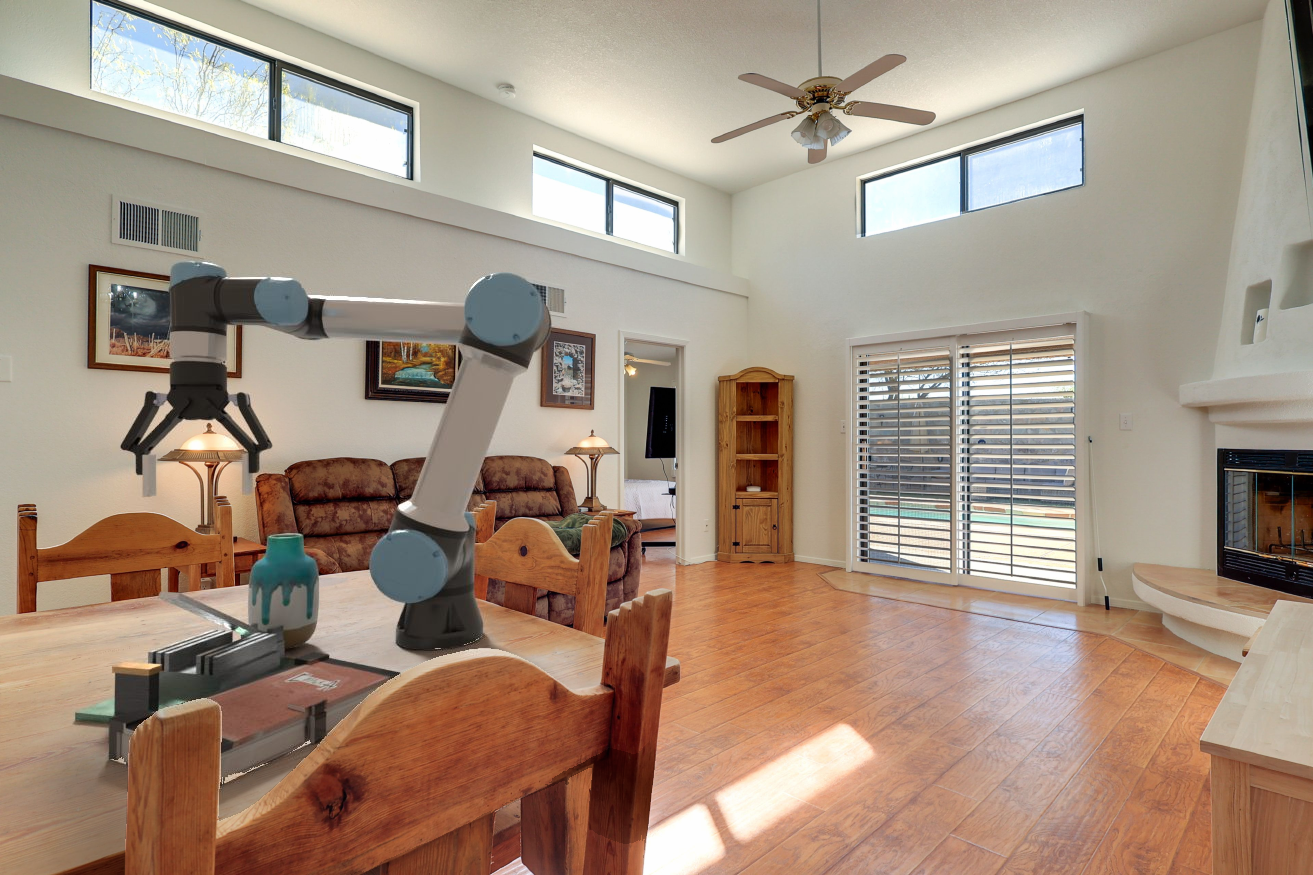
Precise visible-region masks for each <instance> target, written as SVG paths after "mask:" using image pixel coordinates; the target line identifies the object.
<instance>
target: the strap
mask: <svg viewBox="0 0 1313 875" xmlns="http://www.w3.org/2000/svg"><path fill="white" fill-rule="evenodd" d="M157 599H160V600H163V601H164V602H168V603H169V604H171V605H174V606H175V607H178V608H179V609H183V610H185V611H188V612H189V613H192V614H194V615H197V616H199V617H202V618H203V619H206V620H208V621H209V622H212V623H214V624H217V625H219V626H221V627H224V628H226V629H228V630H229V631H233V632H235V633H237V634H240V635H241V634H242V635H244V636H246V637H247V636H250V635H253V634H255V633H262V634H264V633H265V632H263V631H261V630H259V629H257V628H255V627H252V626H250V625H248V624H249V623H247V622H244V621H241V620H239V619H237V618H235V617H233V616H231V615H229V614H226V613H224V612H222V611H220V610H218V609H216V608H214V607H211V606H209V605H208V604H205V603H202V602H201V601H198V600H196V599H194V598H191V597H190V596H187V595H186V594H183V593H181V592H173V591H172V592H170V591H159V594H158V596H157Z"/></svg>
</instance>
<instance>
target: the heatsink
mask: <svg viewBox="0 0 1313 875" xmlns="http://www.w3.org/2000/svg"><path fill="white" fill-rule="evenodd" d="M247 624H248V625H250V626H252V627H255V628H257V629H258V623H251V624H249V623H247ZM283 626H284V625H276V626H274V627H271V628H268V629H267V633H264V634H262V633H255V634H253V635H250V636H247V637H246V636H244V635H242V634H240V639H237V640H234V631H233V630H226V629H215V628H214V629H211V630H208V631H206V632H201V633H200V634H196V635H194V636H190V637H187V638H185V639H182V640H179V641H176V642H173V643H170V644H167V645H165V646H162V647H158V648H155V649H152V650H150V651H147V659H148V660H147V663H146V662H145V663H144V662H137V661H136V662H135V661H123V662H120V663H118V664H115V665H113V666H112V667H111V670H112V671H111V673H112V674H114V696H113V697H112V698H108V699H106V700H103V701H101V702H99V703H96V704H94V705H90V706H88V707H86V708H84V709H80V710H78V711H75V712H74V721H79V722H88V723H96V724H97V723H99V724H104V725H105V724H106V725H109V719H110V718H113V717H116V716H119V715H122V714H125V713H128V712H131V711H134V710H137V709H140V708H143V709H147V710H150V711H154V712H156V711H158V710H159V709H163V708H165V707H169V706H173V705H178V704H181V703H184V702H187V701H189V700H192V699H195V698H198V697H201V696H204V695H207V694H210V693H213V692H216V691H219V690H222V689H225V688H228V687H231V686H234V685H237V684H240V683H243V682H246V681H249V680H252V679H255V678H258V677H260V676H263V675H266V674H269V673H272V672H275V671H278V670H281V669H284V668H287V667H290V666H293V665H294V659H295V658H296V657H285V650H286V649H285V640H283ZM233 640H234V641H233Z"/></svg>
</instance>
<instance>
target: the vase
mask: <svg viewBox="0 0 1313 875" xmlns="http://www.w3.org/2000/svg"><path fill="white" fill-rule="evenodd" d="M266 540H267V541H266V548H265V549H266V551H265V554H264V556H262V558H261V559H259V560H256V562H255V563H254V564H253V566H252V567H251V570H250V574H249V580H248V581H249V582H248V593H247V594H248V597H247V617H248V618H247V620H248V624H251V623H258V629H259V630H261V631H263V632H265V633H267V629H268V628H271V627H274V626H276V625H284V626H283V640H285V649H284V650H288V649H292V648H296V647H298V646H302V645H303V644H305V643H306V642H308V641H309V640H310V639H311V638H312V637H313V635H314V633H315V631H316V628H317V626H318V625H317V624H318V620H319V619H318V618H319V617H318V616H319V607H320V576H319V568H318V567H319V566H318V563H317V562H316V560H315V559H314V558H313V557H312V556H308V554H306V551H305V546H304V535H303V534H302V533H280V534H279V533H278V534H271V535H269V536H267V539H266Z"/></svg>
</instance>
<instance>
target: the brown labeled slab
mask: <svg viewBox="0 0 1313 875" xmlns="http://www.w3.org/2000/svg"><path fill="white" fill-rule="evenodd" d="M294 658H295V659H294V665H293V666H290V667H287V668H284V669H281V670H278V671H275V672H272V673H269V674H266V675H263V676H260V677H258V678H255V679H252V680H249V681H246V682H243V683H240V684H237V685H234V686H231V687H228V688H225V689H222V690H219V691H216V692H213V693H210V694H207V695H204V696H201V697H198V698H195V699H192V700H196V699H201V698H207V699H211V700H213V701H215V702H217V703H218V704H219V705H220V706H221V711H222V742H221V782H220V787H222V786H224V785H225V784H224V781H225V777H228V775H232V774H234V773H235V774H236V773H240V772H242V773H245V772H247V771H249V770H251V769H252V768H253V767H254V768H255V767H258V766H260V765H262V764H266V763H269V762H271V763H273V762H275V761H277V760H279V759H281V757H282V758H284V757H285V755H286V756H288V755H289V754H288V753H290V752H292V751H293V750H295V749H297V748H298V747H300V746H302V745H303V744H304V743H305V742H307V741H309V740H310V742H311V743H312V744H311V745H316V744H318V743H320V742H322V741H323V740H322V739H323V738H324V737H325V736H326V735H327V734H328V733H329V732H330V731H331V730H332V729H333V728H334V727H335V726H336V725H337V724H338V723H339V722H340V721H341V720H342V719H344V718H345V717H346V716H347V715H348V714H349V713H350V712H351V711H352V710H353V709H354V708H355V707H356V706H357V705H358V704H360V702H362V701H363V700H364V699H365V698H366V697H367V696H368V695H369V694H371V693H372V692H373V691H375V690H376V689H377V688H378V687H380V686H381V685H383V684H384V683H386V682H387V681H388V680H390V679H392V678H394V677H395V676H397V675H399V674H400V675H401V672H400V671H397V670H391V669H386V668H381V667H376V666H372V665H371V666H370V665H366V664H361V663H356V662H352V661H348V660H347V661H346V660H341V659H336V658H332V657H330V654H329V653H324V652H318V651H312V652H309V653H306V654H302V655H300V656H296V657H294ZM192 700H189V701H192ZM187 702H188V701H187ZM184 703H185V702H184ZM181 704H183V703H181ZM178 705H179V704H178ZM154 713H155V712H154V711H150V710H147V709H143V708H140V709H137V710H134V711H131V712H128V713H125V714H122V715H119V716H116V717H113V718H110V719H109V724H108V760H110V759H114V760H118V759H119V758H121V757H122V759H123V758H124V762H126V765H125V766H127V767H129V766H128V753H129V740H130V737H131V735H132V734H133V733H134V731H135V729H136V728H137V726H138V725H139V724H141V723H142V722H143V721H144V720H146V719H147V718H149V717H150V716H152V715H153V714H154ZM326 737H327V736H326ZM324 739H325V738H324ZM321 740H322V741H321ZM305 744H307V743H305ZM292 753H293V752H292ZM287 754H288V755H287ZM290 754H291V753H290ZM283 756H284V757H283ZM278 758H279V759H278ZM276 759H277V760H276ZM274 760H275V761H274ZM272 761H273V762H272ZM269 764H270V763H269ZM250 768H251V769H250ZM222 777H223V785H222Z"/></svg>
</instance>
